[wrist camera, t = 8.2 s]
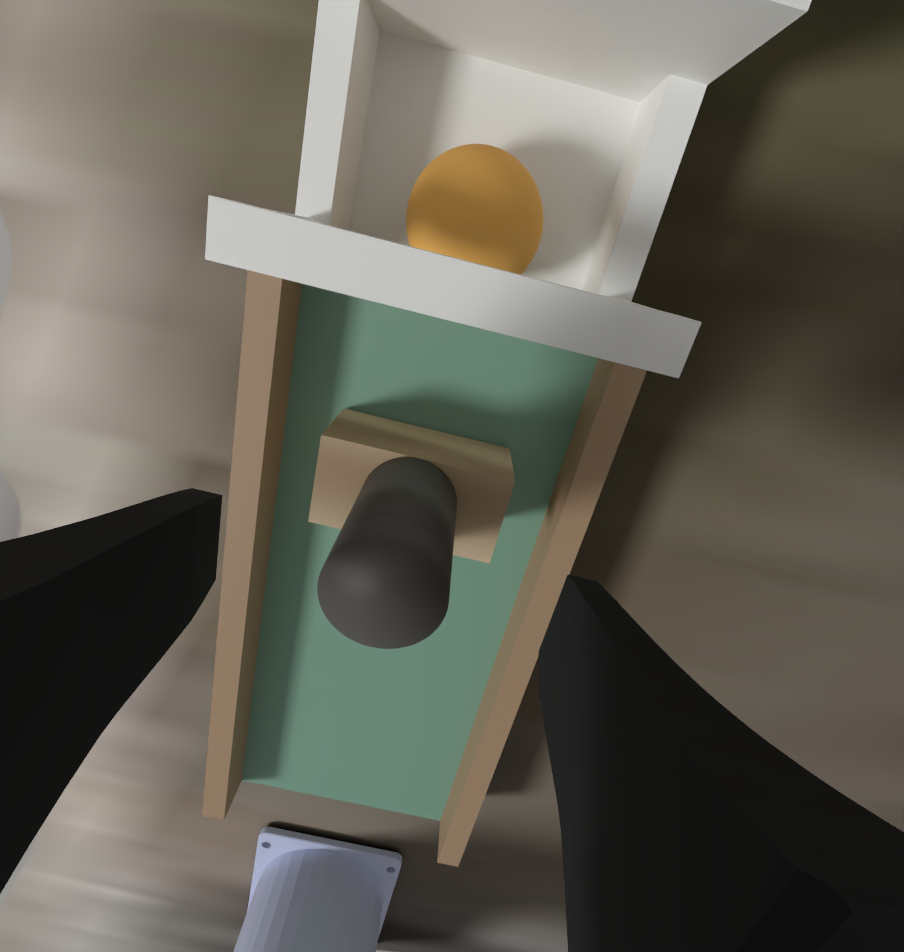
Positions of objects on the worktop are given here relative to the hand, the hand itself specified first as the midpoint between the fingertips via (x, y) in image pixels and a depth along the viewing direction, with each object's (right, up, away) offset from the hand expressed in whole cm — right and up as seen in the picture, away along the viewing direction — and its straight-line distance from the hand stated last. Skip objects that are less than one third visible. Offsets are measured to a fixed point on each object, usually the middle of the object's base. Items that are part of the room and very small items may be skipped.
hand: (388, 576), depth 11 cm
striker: (0, +2, +9) cm, 9 cm away
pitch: (0, +1, +11) cm, 11 cm away
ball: (+2, +9, +5) cm, 11 cm away
